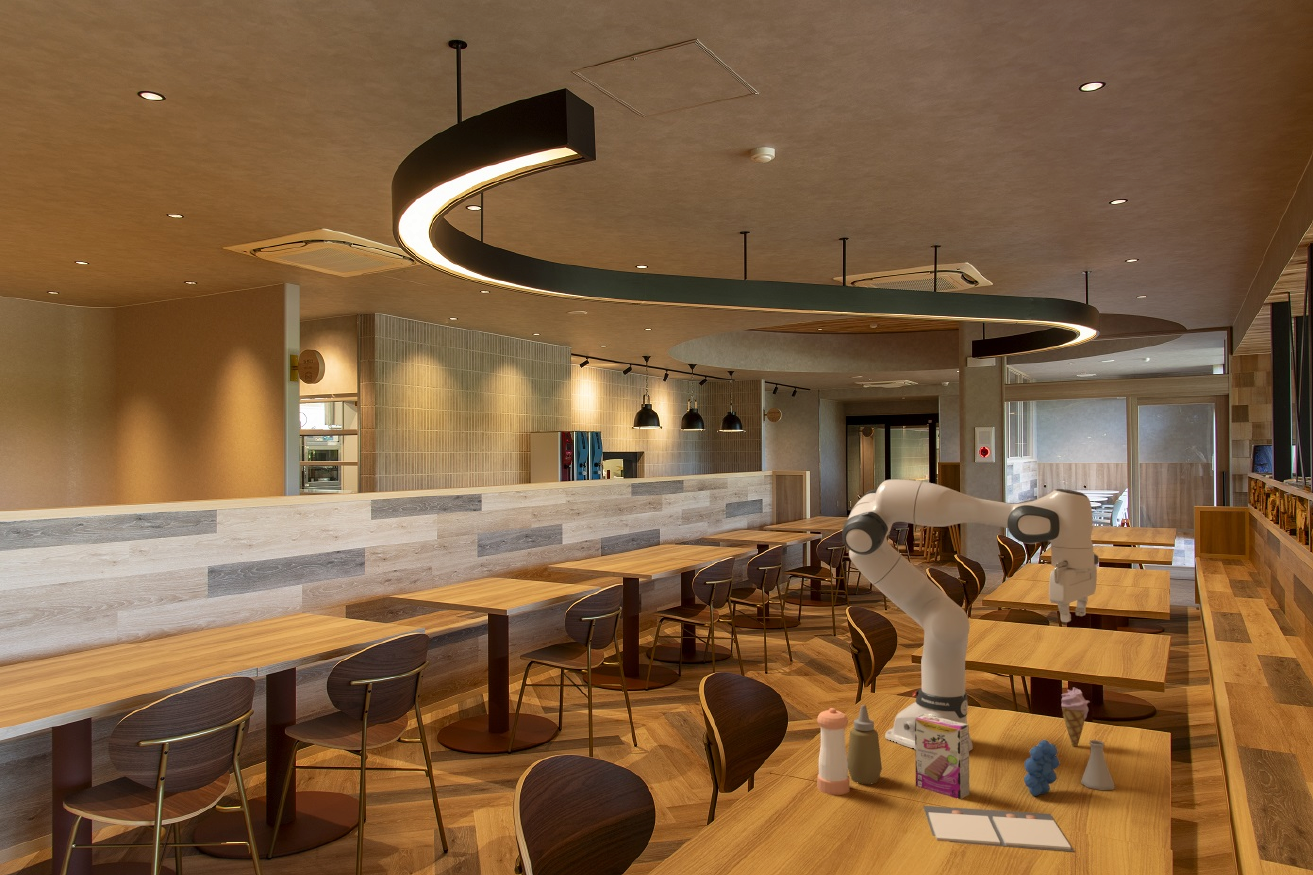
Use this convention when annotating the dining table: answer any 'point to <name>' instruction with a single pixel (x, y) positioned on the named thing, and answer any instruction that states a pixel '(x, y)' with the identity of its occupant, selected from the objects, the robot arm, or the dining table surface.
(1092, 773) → the flask
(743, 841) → the dining table surface
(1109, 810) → the dining table surface
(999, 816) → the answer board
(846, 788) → the pepper shaker
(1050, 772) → the grapes
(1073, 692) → the ice cream cone
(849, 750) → the squeeze bottle
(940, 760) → the candy bar box
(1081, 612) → the robot arm
